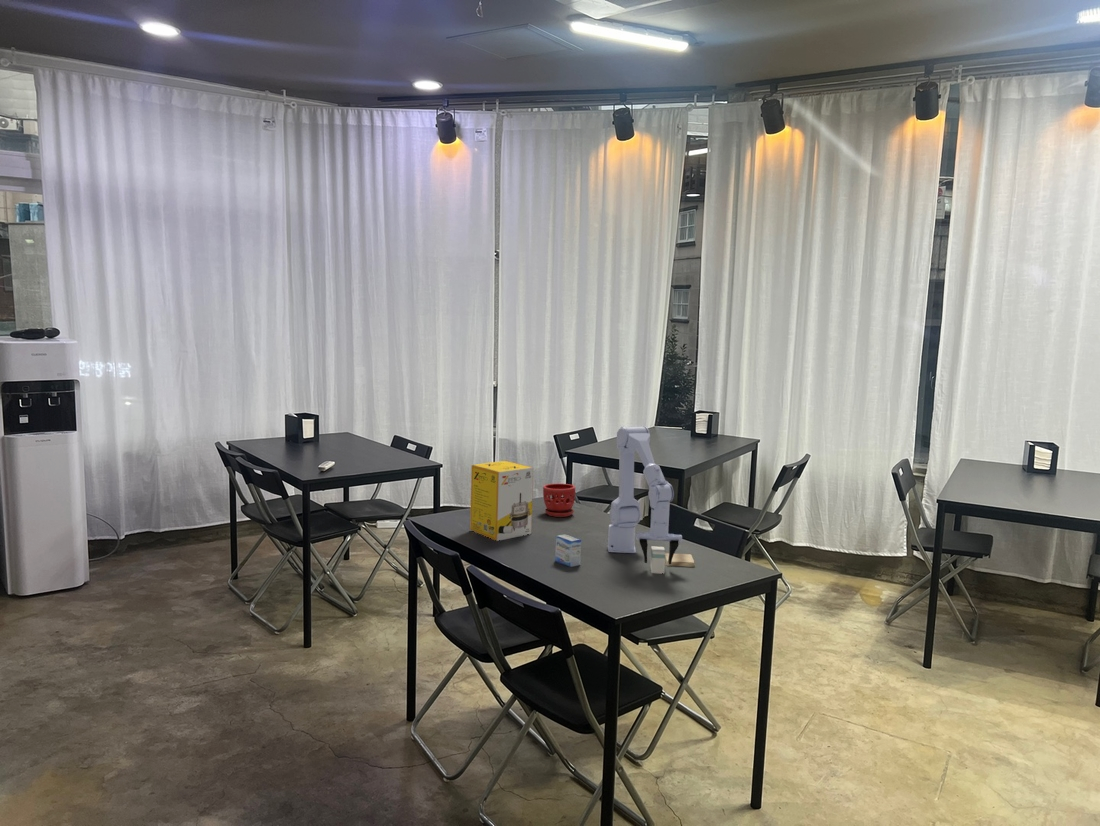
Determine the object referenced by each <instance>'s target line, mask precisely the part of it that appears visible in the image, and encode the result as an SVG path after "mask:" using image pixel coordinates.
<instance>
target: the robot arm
mask: <svg viewBox="0 0 1100 826" xmlns="http://www.w3.org/2000/svg"><path fill="white" fill-rule="evenodd" d="M650 442H651V433H650V430H649V428H648V427H647V426H646V425H643V426H621V427H620V428H619V429H618V431H617V432H616V449H617V450H619V451H618V452H619V463H618V465H619V467H618V468H619V469H618V473H619V474H618V497H617V498H616V499H614V500H613V501H612V502H611V503H610V509H609V520H610V522H611V523H612V524H611V523H610V524H608V536H607V538H608V539H607V544H606V545H607V551H608V553H624V554H627V553H628V554H636V553H637V551H636V546H635V544H636V543H635V541H639V545H640V548H641V551H642V552H643V559H644V562H643V563H645V564H648V541H653V542H657V541H658V542H669V547H668V548H669V549H668V551H669V552H668V553H669V558H668V563H669V564H671V562H672V558H673V555H674V554H676V552H677V551H676V550H677V549H678V548H679V543H683V535H682V534H674V533H669V526H670V524H669V523H670V522H669V521H670V502H672V501H673V499H674V496H675V492H674V488H673V485H672V484H671V483H669V481H668V480H666V479H665V476H664V473H663V472H662V469H661V467H660V465H659V464H656V463H655V459H654V455H653V453H652V450H651V447H650V446H651V445H650ZM635 453H636V454H637V455H638V458H639V459H640V461H641V463H642V465H643V466H644V468H643V471H642V472H643V476H644V478H645V480H646V484H647V486H648V488H649V489H648V493H647V495H648V498H649V507H650V509H651V510H650V527H649V529H650V530H649V532H636V526H638V524H639V523H640V521H641V519H642V511H641V506H640V504H641V503H640V502H639V501H638V500H637V499H635V496H634V495H635V493H634V492H635V488H634V487H635V485H634V484H635Z"/></svg>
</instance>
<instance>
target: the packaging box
mask: <svg viewBox="0 0 1100 826" xmlns="http://www.w3.org/2000/svg"><path fill="white" fill-rule="evenodd" d="M470 469H471V471H470V472H471V473H470V514H469V516H470V519H469V522H470V523H469V524H470V525H469V531H470V530H473V531H475V532H477V533H479V534H482V535H484V536H483V537H485V536H486V537H485V538H487V537H489V538H488V539H490V538H491V539H490V540H492V541H495V540H496V541H495V542H499V540H500V541H503V540H509V539H512V538H517V537H523V535H524V536H528V535H527V534H529V535H532V528H533V496H534V495H533V494H534V493H533V492H534V491H533V490H534V467H532V466H528V465H524V464H520V463H515V462H513V461H507V460H501V461H492V462H483V463H475V464H471V468H470ZM477 533H476V534H477ZM479 534H478V535H479ZM482 535H481V536H482Z"/></svg>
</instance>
